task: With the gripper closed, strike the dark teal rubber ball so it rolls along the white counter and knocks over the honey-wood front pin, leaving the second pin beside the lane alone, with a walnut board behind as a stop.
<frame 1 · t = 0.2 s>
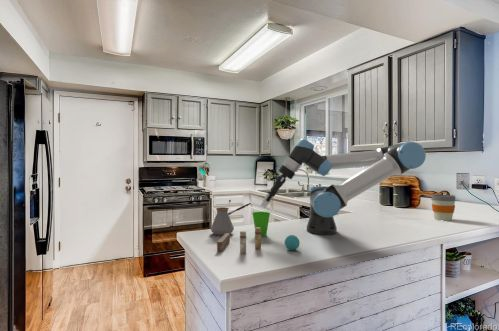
hand: (263, 204, 136), 15 cm above the countertop, tool tilted 35°, fingers open, 13 cm apart
reusable coffee cup: (443, 219, 175), on the countertop
cup: (261, 235, 137), on the countertop
side pin: (243, 253, 110), on the countertop
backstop: (223, 246, 119), on the countertop
coffee pot: (231, 233, 142), on the countertop
front pin: (257, 248, 117), on the countertop
ball: (292, 242, 114), on the countertop
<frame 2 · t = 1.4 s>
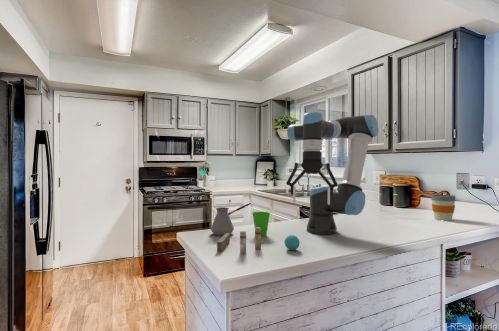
hand: (311, 203, 114), 19 cm above the countertop, tool pointing down, fingers open, 13 cm apart
nothing on the countertop moved.
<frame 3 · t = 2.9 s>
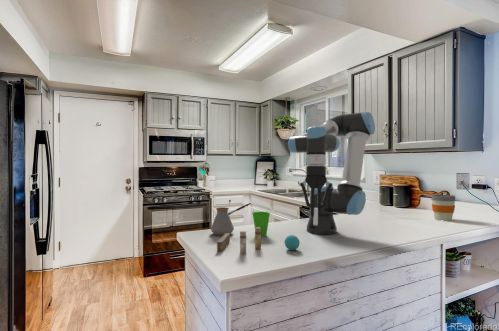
hand: (315, 224, 113), 11 cm above the countertop, tool pointing down, fingers closed
nothing on the countertop moved.
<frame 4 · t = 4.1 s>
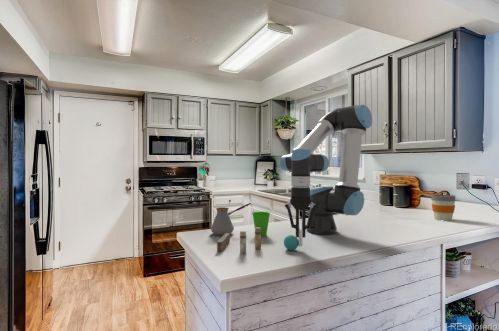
hand: (300, 245, 113), 2 cm above the countertop, tool pointing down, fingers closed
ball: (291, 242, 114), on the countertop, touching gripper
everything else where it was.
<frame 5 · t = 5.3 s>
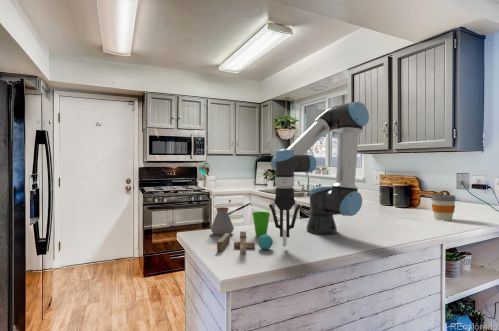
hand: (284, 245, 115), 2 cm above the countertop, tool pointing down, fingers closed
front pin: (254, 245, 117), point 1 cm above the countertop, tilted 90°
ball: (265, 242, 115), on the countertop
everything else where it was.
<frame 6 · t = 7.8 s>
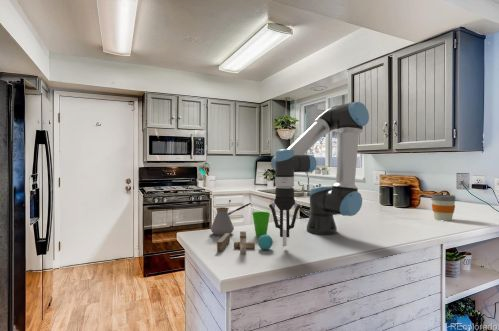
hand: (284, 245, 115), 2 cm above the countertop, tool pointing down, fingers closed
nothing on the countertop moved.
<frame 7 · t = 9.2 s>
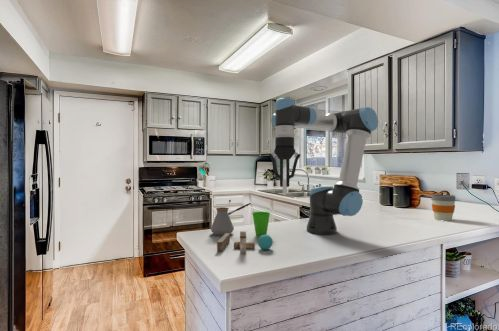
hand: (284, 194, 115), 22 cm above the countertop, tool pointing down, fingers closed
nothing on the countertop moved.
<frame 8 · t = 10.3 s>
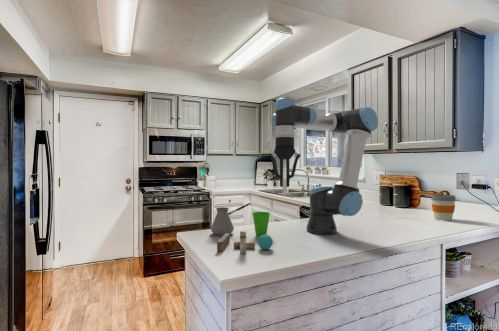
hand: (284, 194, 115), 22 cm above the countertop, tool pointing down, fingers closed
nothing on the countertop moved.
at the end: front pin tilted 90°; front pin never touched the robot; ball moved 10.9 cm from its start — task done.
